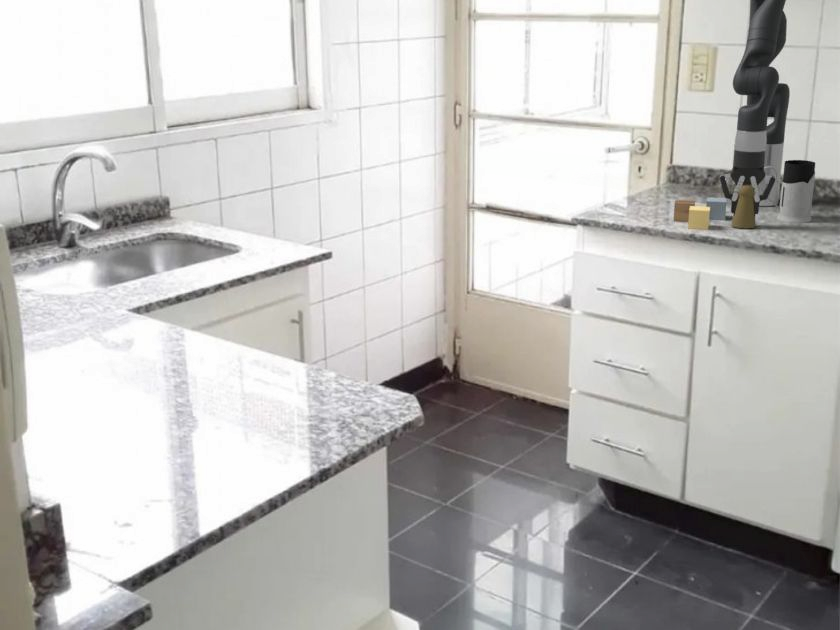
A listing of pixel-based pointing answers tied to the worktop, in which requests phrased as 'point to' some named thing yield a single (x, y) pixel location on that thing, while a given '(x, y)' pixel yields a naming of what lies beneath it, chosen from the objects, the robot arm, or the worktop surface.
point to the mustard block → (699, 217)
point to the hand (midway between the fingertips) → (744, 215)
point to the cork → (745, 208)
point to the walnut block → (682, 210)
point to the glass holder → (796, 191)
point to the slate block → (717, 208)
